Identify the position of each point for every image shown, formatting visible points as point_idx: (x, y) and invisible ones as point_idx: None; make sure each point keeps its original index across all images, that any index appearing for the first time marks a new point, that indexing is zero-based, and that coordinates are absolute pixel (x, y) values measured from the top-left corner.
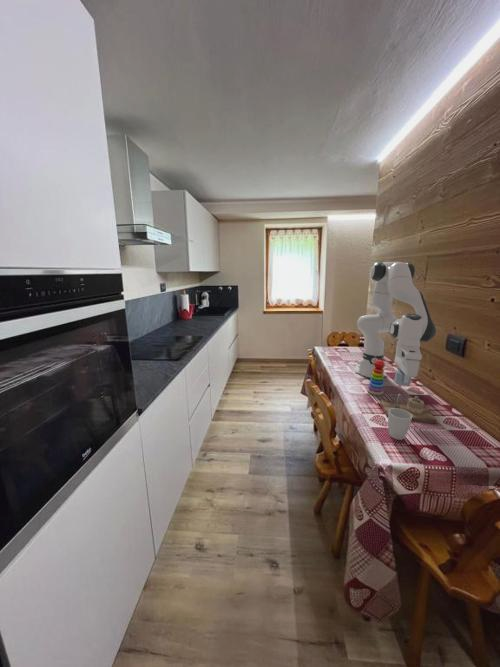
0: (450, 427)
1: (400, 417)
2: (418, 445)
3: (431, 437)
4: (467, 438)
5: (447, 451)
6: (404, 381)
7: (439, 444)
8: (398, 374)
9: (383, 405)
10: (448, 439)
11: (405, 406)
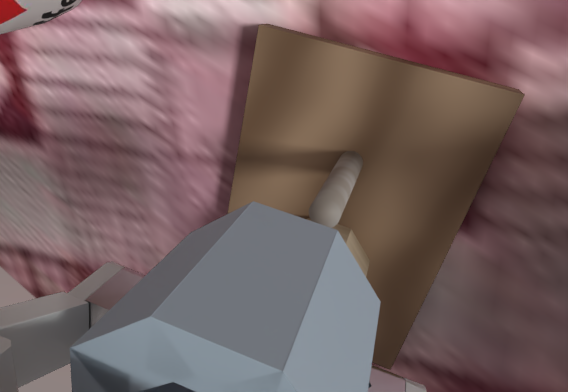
0: None
1: (7, 2)
2: (11, 53)
3: (94, 168)
4: None
5: (14, 162)
6: (98, 275)
7: (51, 165)
8: (144, 305)
9: (403, 66)
10: (99, 233)
11: (379, 241)
